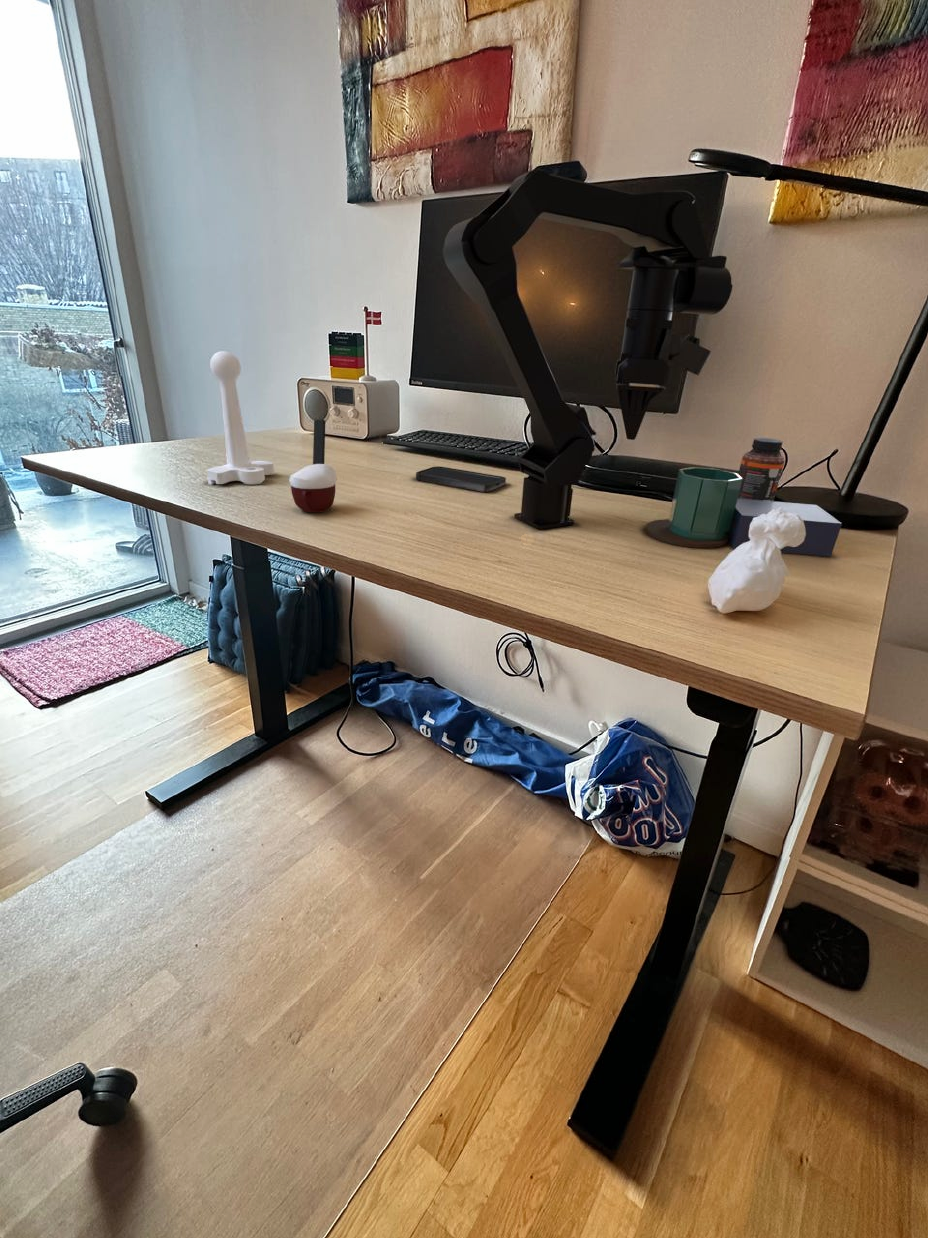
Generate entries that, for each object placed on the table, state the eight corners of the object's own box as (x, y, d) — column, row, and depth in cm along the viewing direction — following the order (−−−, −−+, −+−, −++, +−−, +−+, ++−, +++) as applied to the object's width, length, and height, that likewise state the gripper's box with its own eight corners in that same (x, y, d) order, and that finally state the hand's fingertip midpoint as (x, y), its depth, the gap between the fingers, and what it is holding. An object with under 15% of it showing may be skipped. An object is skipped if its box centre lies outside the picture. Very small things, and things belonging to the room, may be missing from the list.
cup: (684, 477, 74) (747, 482, 73) (676, 465, 81) (733, 469, 80) (672, 537, 78) (731, 542, 77) (665, 521, 84) (720, 526, 83)
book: (733, 548, 77) (741, 515, 75) (719, 528, 85) (726, 497, 82) (831, 557, 75) (842, 523, 73) (807, 535, 83) (817, 504, 81)
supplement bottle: (774, 519, 90) (795, 444, 84) (733, 515, 91) (752, 441, 85) (764, 509, 95) (783, 437, 90) (725, 505, 96) (743, 435, 91)
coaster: (689, 552, 74) (690, 548, 74) (628, 528, 83) (629, 524, 82) (745, 541, 79) (746, 537, 79) (682, 519, 88) (683, 515, 87)
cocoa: (312, 520, 80) (305, 430, 75) (278, 513, 83) (268, 425, 77) (354, 505, 88) (350, 422, 83) (321, 498, 90) (315, 418, 85)
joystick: (260, 471, 105) (245, 350, 96) (287, 478, 101) (274, 352, 92) (203, 482, 97) (181, 350, 88) (230, 490, 93) (210, 353, 84)
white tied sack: (733, 647, 57) (844, 576, 50) (679, 590, 57) (783, 513, 50) (741, 602, 66) (835, 538, 60) (694, 554, 66) (783, 485, 60)
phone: (436, 465, 109) (508, 477, 103) (436, 471, 110) (507, 483, 103) (413, 473, 103) (487, 485, 97) (413, 479, 104) (487, 492, 97)
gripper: (727, 310, 66) (697, 450, 73) (703, 315, 83) (680, 429, 90) (628, 306, 68) (607, 443, 75) (623, 312, 85) (607, 424, 92)
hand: (629, 434), depth 83 cm, fingers open, 9 cm apart
